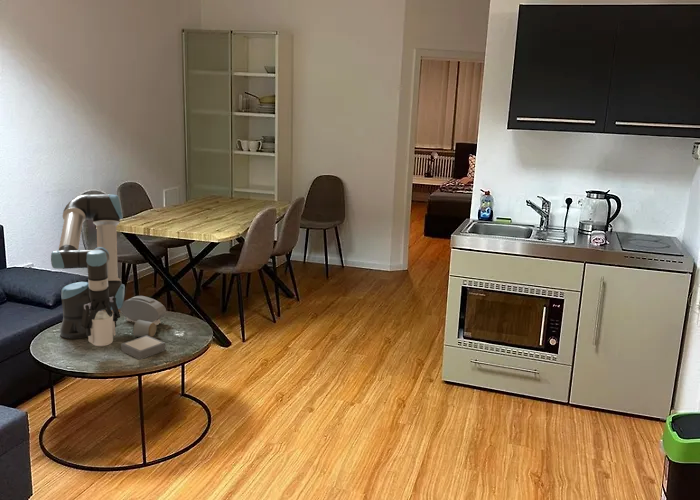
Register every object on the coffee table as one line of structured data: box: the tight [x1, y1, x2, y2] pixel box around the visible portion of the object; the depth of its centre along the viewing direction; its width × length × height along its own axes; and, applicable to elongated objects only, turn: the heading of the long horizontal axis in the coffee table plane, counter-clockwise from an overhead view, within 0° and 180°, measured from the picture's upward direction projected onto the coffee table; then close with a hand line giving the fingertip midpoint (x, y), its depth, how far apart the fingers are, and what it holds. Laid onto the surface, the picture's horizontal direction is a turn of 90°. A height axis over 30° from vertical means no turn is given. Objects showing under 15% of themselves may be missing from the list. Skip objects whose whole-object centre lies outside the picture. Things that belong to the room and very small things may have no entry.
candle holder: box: [91, 310, 114, 347], centre depth 259 cm, size 10×10×12 cm
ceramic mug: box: [132, 320, 157, 338], centre depth 285 cm, size 11×8×8 cm
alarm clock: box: [119, 295, 167, 326], centre depth 301 cm, size 23×6×13 cm, turn 69°
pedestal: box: [120, 335, 167, 360], centre depth 269 cm, size 13×13×4 cm
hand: (102, 338), depth 260 cm, fingers closed on candle holder, 9 cm apart
